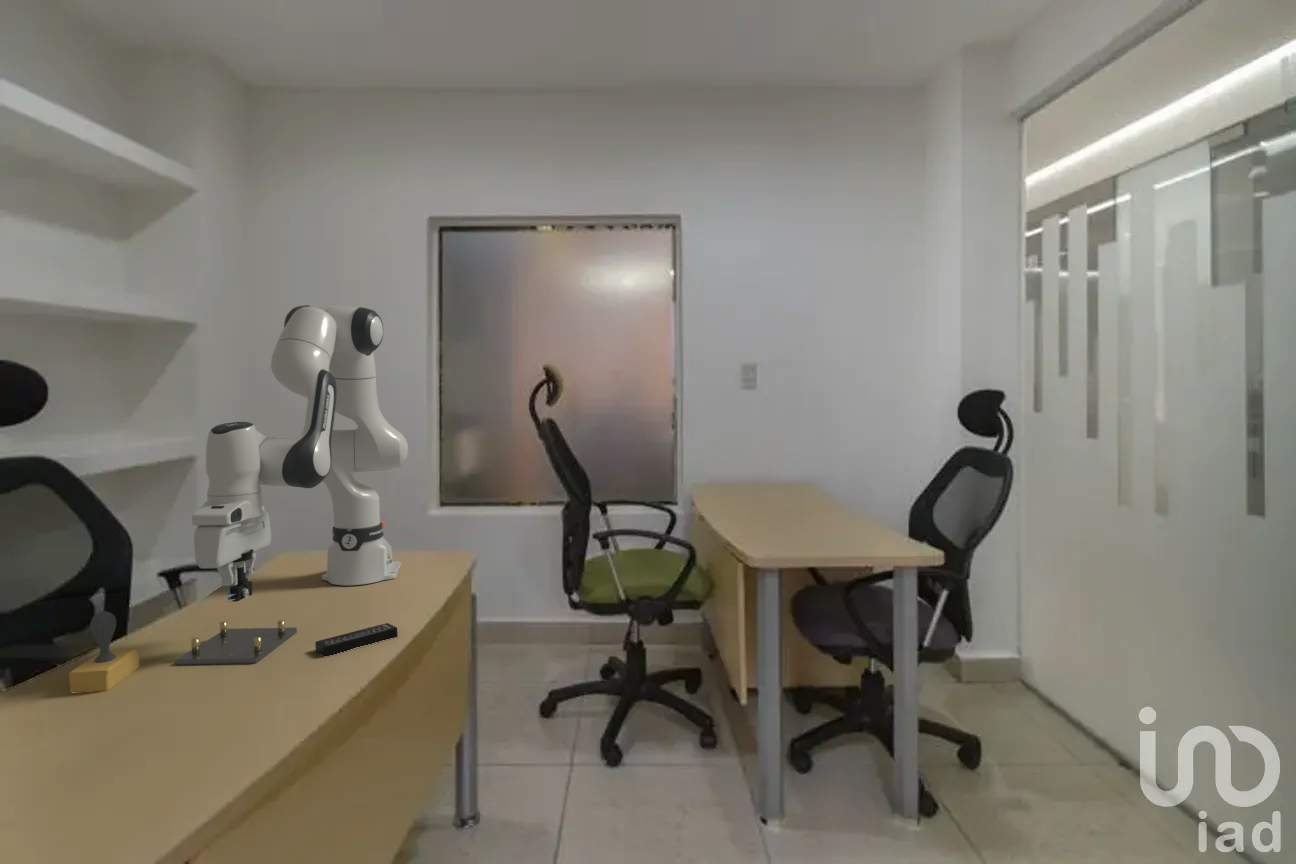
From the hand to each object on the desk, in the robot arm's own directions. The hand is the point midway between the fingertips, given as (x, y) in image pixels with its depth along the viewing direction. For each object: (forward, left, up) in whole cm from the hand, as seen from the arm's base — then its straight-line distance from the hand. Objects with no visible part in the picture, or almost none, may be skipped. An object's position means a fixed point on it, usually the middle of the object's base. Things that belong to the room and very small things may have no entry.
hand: (238, 580), depth 132 cm
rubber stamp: (+14, -15, -14) cm, 25 cm away
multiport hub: (-1, +22, -14) cm, 26 cm away
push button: (+1, 0, -4) cm, 4 cm away
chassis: (0, 0, -13) cm, 13 cm away
